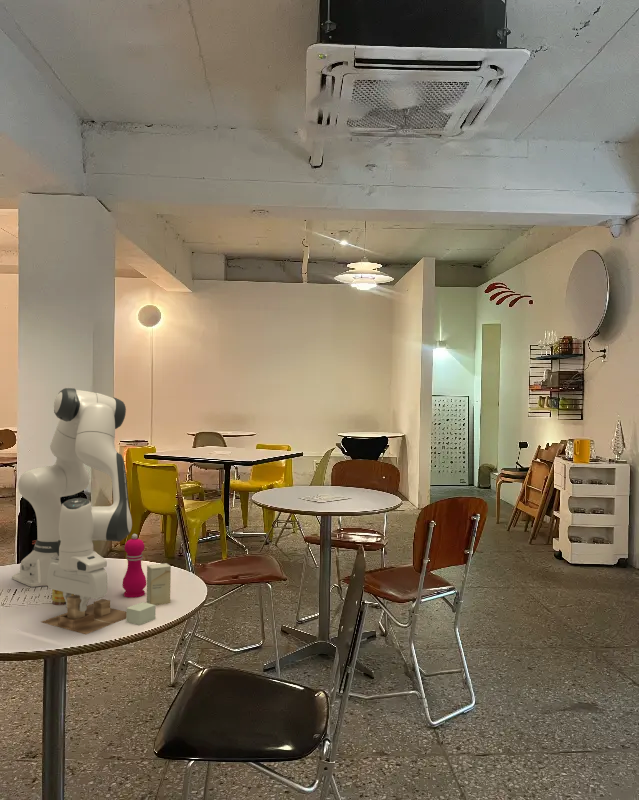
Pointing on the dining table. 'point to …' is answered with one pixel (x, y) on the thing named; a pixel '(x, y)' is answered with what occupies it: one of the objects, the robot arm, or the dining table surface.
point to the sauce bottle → (58, 592)
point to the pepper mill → (134, 569)
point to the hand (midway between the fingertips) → (76, 609)
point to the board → (90, 618)
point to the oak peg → (74, 607)
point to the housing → (140, 613)
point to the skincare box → (158, 584)
